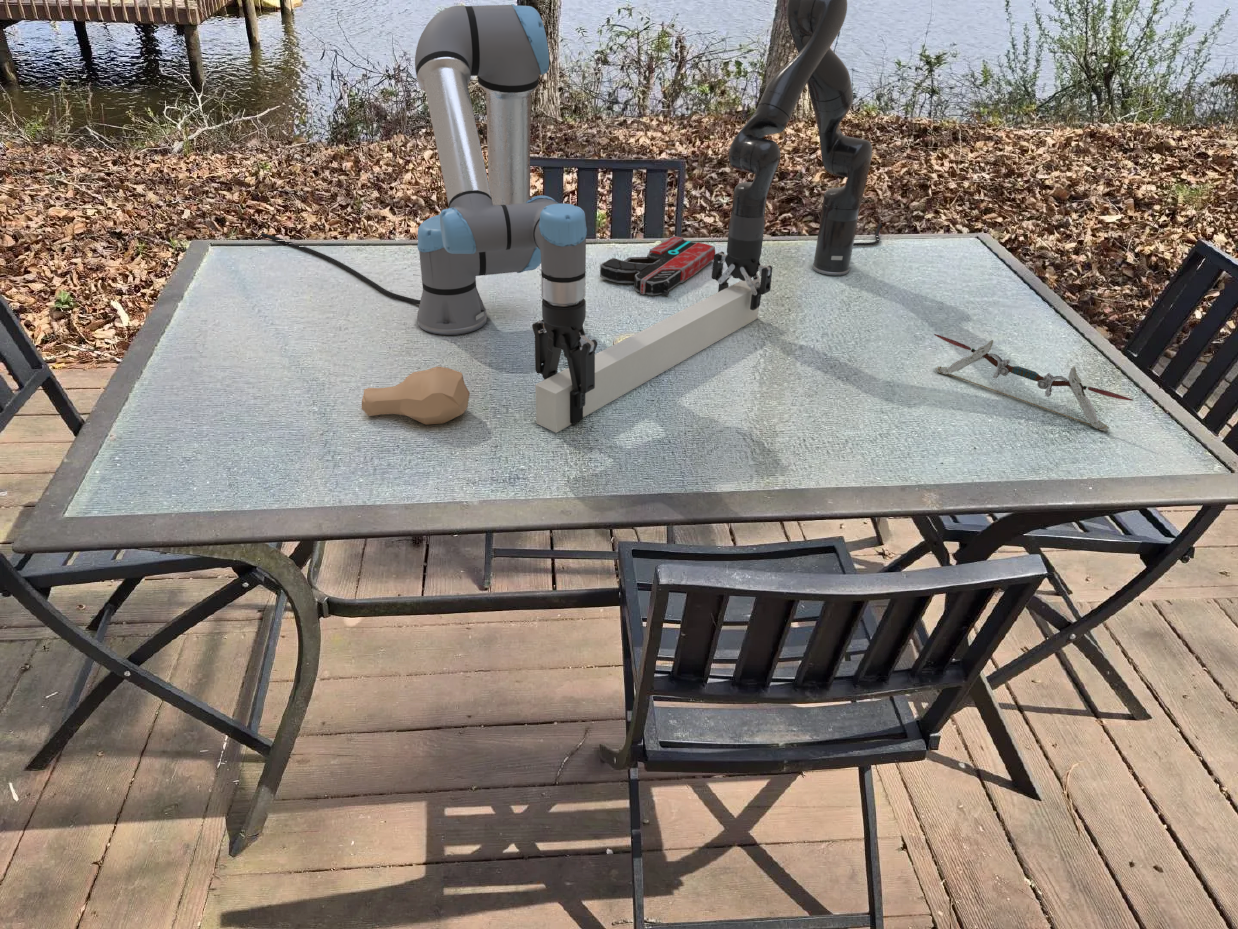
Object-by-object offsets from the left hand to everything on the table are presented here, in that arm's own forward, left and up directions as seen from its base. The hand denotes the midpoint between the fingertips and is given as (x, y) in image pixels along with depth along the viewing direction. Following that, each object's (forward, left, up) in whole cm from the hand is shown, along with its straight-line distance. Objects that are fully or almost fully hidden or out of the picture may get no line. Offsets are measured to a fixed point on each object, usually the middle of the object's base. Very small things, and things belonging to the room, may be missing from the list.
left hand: (565, 415), depth 163 cm
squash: (-19, -20, -1) cm, 27 cm away
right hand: (-6, +57, +4) cm, 58 cm away
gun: (-39, +66, -1) cm, 77 cm away
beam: (-3, +29, -1) cm, 29 cm away
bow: (+54, +71, -1) cm, 89 cm away
